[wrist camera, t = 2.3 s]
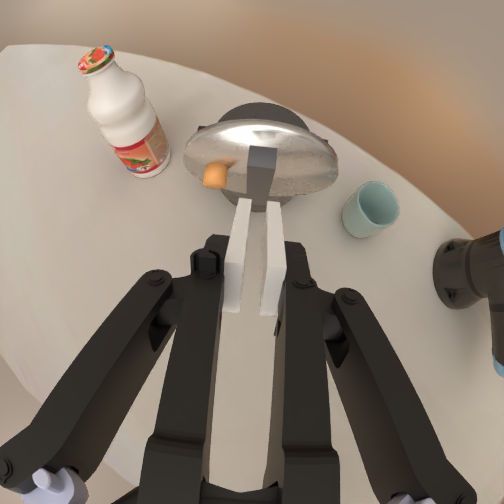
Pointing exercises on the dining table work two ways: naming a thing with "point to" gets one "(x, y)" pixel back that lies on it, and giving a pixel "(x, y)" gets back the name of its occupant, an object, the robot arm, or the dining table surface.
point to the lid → (261, 159)
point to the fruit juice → (124, 114)
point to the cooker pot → (266, 113)
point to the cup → (370, 210)
